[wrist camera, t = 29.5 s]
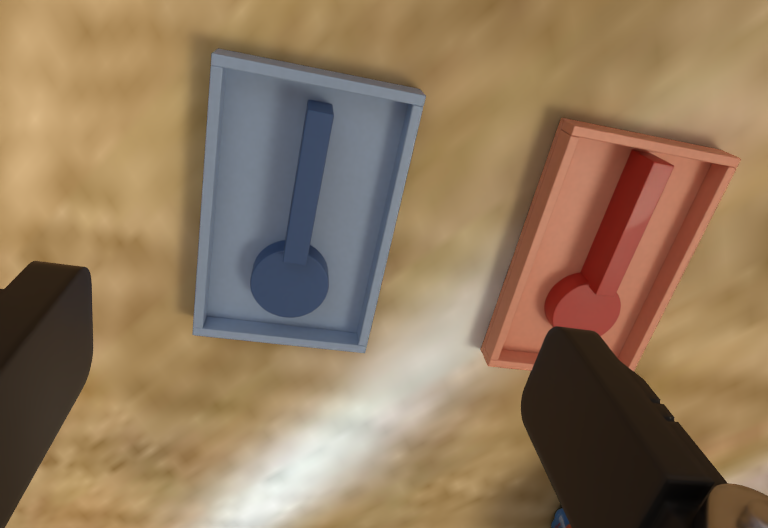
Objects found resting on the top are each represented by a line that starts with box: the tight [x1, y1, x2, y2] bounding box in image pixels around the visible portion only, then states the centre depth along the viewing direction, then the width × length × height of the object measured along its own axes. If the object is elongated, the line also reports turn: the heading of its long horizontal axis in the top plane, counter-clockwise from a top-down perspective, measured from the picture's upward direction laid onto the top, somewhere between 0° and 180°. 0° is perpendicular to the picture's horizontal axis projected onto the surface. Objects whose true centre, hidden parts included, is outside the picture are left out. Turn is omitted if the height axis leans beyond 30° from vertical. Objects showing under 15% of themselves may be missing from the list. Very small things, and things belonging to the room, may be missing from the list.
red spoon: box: [544, 150, 674, 336], centre depth 36 cm, size 13×5×3 cm, turn 168°
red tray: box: [481, 118, 741, 371], centre depth 37 cm, size 17×11×2 cm, turn 168°
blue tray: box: [193, 48, 426, 353], centre depth 33 cm, size 17×11×2 cm, turn 168°
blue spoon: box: [250, 100, 334, 318], centre depth 33 cm, size 13×5×3 cm, turn 167°
